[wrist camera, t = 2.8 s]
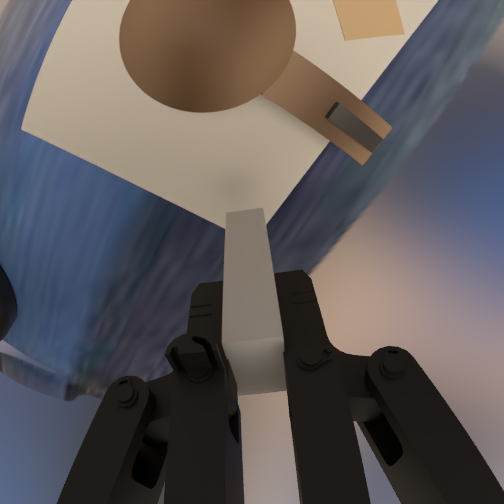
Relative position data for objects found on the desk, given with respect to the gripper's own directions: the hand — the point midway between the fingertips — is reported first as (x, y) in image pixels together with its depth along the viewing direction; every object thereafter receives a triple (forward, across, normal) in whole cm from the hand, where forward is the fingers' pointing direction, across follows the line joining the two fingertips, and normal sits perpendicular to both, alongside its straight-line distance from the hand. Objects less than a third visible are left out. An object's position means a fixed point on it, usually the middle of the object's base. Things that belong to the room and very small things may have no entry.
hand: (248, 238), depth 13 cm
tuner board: (+8, 0, +9) cm, 12 cm away
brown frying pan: (+6, +2, +7) cm, 10 cm away
